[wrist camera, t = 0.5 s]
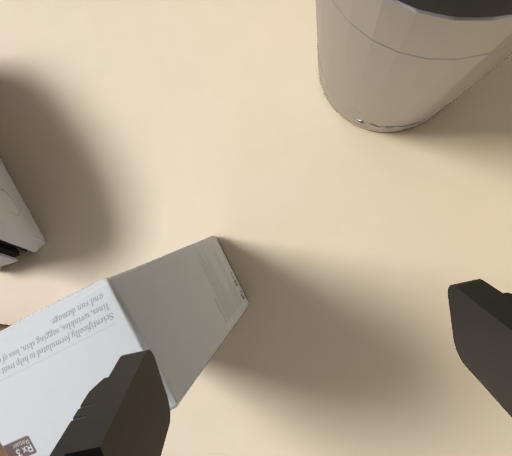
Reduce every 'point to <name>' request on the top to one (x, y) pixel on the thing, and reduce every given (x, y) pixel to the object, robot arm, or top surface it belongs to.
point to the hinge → (15, 222)
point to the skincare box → (114, 340)
